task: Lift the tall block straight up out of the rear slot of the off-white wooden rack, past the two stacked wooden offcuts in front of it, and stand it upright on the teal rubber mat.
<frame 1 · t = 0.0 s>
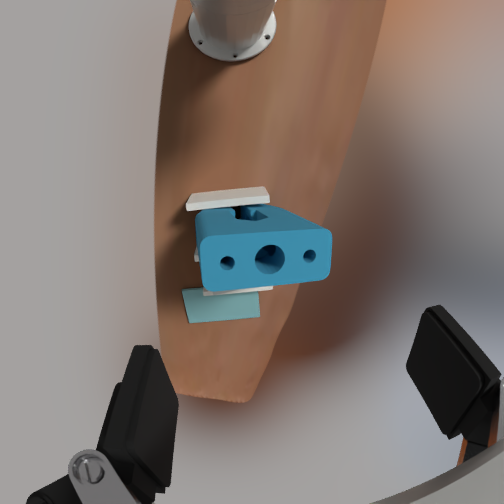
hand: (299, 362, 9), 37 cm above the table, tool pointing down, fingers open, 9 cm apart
mat: (221, 302, 51), on the table
rack: (230, 216, 45), on the table
block: (233, 219, 45), point 1 cm above the table
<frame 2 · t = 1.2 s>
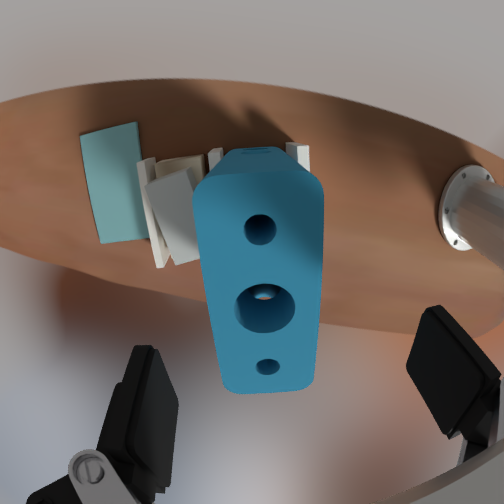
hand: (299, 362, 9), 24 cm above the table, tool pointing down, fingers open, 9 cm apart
mat: (116, 184, 30), on the table
rack: (258, 195, 31), on the table
block: (257, 198, 31), on the table
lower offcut: (189, 201, 31), on the table, touching upper offcut
upper offcut: (185, 211, 28), point 3 cm above the table, touching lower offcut
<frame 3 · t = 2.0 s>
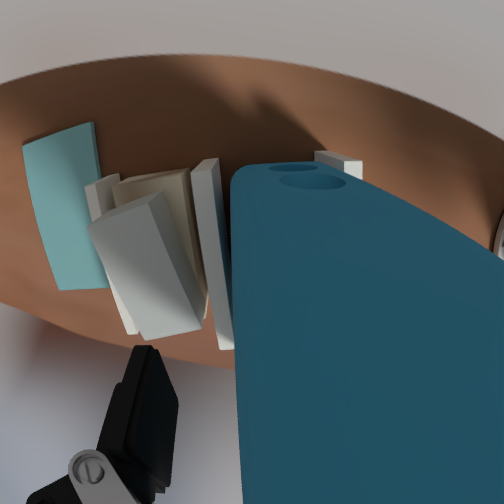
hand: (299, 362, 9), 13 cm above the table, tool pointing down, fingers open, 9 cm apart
mat: (71, 213, 20), on the table
rack: (272, 229, 21), on the table
block: (270, 233, 21), on the table
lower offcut: (170, 237, 21), on the table, touching upper offcut
upper offcut: (156, 258, 18), point 3 cm above the table, touching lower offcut, rack
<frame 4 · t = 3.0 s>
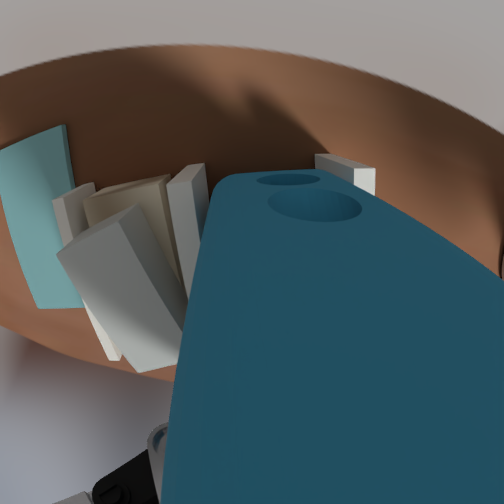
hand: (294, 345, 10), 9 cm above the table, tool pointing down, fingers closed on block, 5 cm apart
mat: (45, 226, 17), on the table
rack: (266, 244, 19), on the table
block: (264, 248, 19), on the table, touching gripper
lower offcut: (154, 252, 19), on the table, touching upper offcut
upper offcut: (141, 280, 16), point 3 cm above the table, touching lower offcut
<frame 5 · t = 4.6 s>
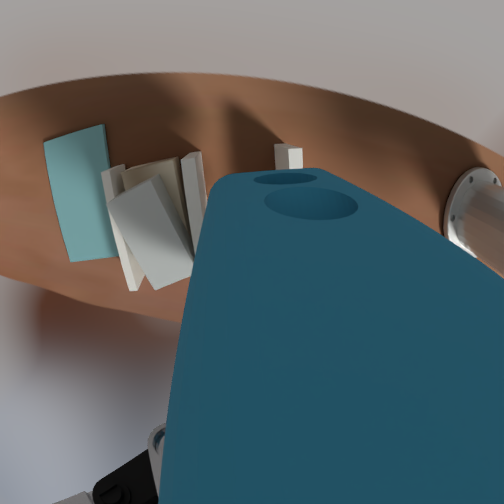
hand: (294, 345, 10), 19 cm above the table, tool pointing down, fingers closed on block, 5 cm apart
mat: (84, 196, 25), on the table
rack: (243, 205, 27), on the table
block: (262, 247, 19), point 9 cm above the table, touching gripper
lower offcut: (166, 211, 27), on the table
upper offcut: (159, 226, 24), point 3 cm above the table
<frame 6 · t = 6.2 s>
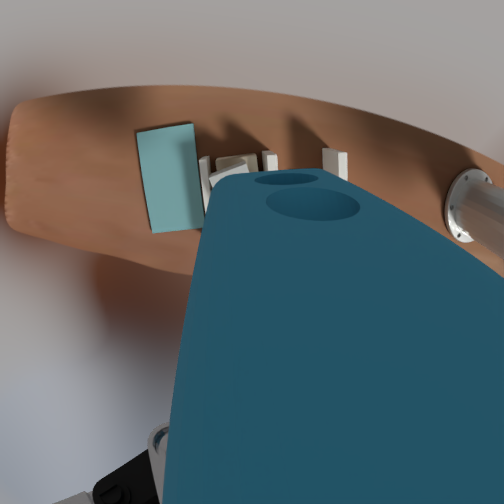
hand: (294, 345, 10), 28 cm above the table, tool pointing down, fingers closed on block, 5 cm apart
mat: (171, 179, 34), on the table
rack: (298, 192, 36), on the table
block: (263, 248, 19), point 18 cm above the table, touching gripper
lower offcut: (241, 194, 36), on the table, touching upper offcut
upper offcut: (240, 199, 33), point 3 cm above the table, touching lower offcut
when the fingers open (11 cm above the table, at t = 11.4 s): block stays where it is, resting on mat.
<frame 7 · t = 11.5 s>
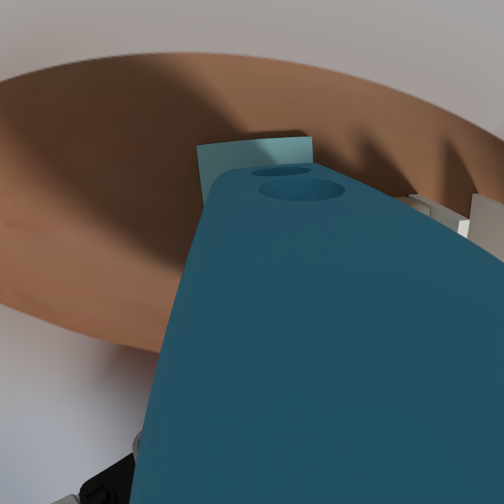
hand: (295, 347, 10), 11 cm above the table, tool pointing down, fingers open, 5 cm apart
mat: (261, 236, 20), on the table
rack: (439, 255, 22), on the table
block: (264, 244, 20), resting on mat
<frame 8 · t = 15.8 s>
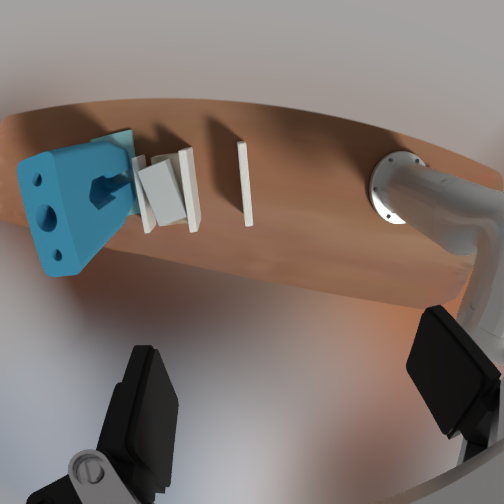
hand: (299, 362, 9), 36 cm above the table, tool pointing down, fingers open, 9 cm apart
mat: (117, 174, 40), on the table
rack: (218, 180, 42), on the table
block: (117, 177, 40), resting on mat
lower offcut: (175, 185, 42), on the table, touching upper offcut
upper offcut: (166, 189, 39), point 3 cm above the table, touching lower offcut
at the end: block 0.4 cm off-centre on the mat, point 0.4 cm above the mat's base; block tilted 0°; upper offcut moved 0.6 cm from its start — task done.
